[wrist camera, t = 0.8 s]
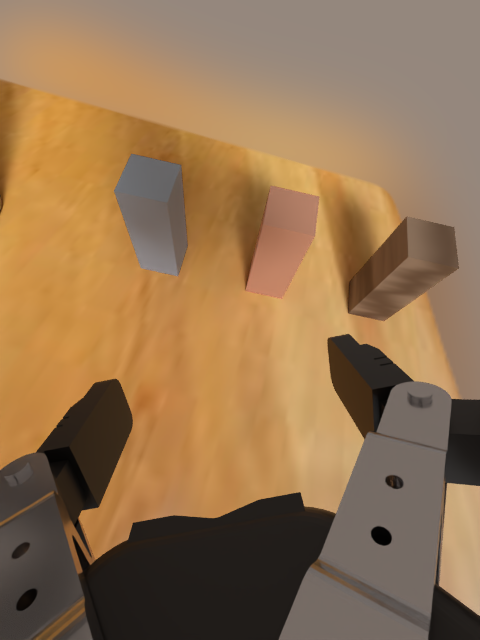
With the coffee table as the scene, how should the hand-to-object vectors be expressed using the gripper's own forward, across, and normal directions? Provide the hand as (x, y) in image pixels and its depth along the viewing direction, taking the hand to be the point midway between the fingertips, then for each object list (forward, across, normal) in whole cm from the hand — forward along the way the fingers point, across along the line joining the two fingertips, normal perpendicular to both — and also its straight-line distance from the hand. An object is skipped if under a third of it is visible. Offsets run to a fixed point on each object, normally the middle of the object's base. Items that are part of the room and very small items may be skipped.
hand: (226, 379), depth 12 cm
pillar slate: (+28, +7, -2) cm, 29 cm away
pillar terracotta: (+27, -5, +3) cm, 28 cm away
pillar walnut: (+26, -16, +8) cm, 32 cm away
